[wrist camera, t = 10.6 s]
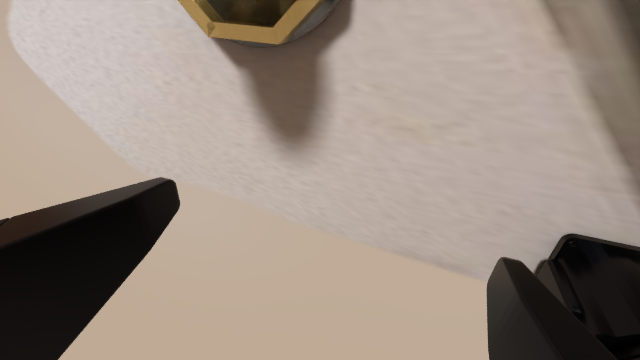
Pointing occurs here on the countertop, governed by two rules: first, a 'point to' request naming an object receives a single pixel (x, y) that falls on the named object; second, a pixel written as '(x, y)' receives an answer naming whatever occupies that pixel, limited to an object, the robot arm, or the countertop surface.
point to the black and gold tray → (258, 19)
